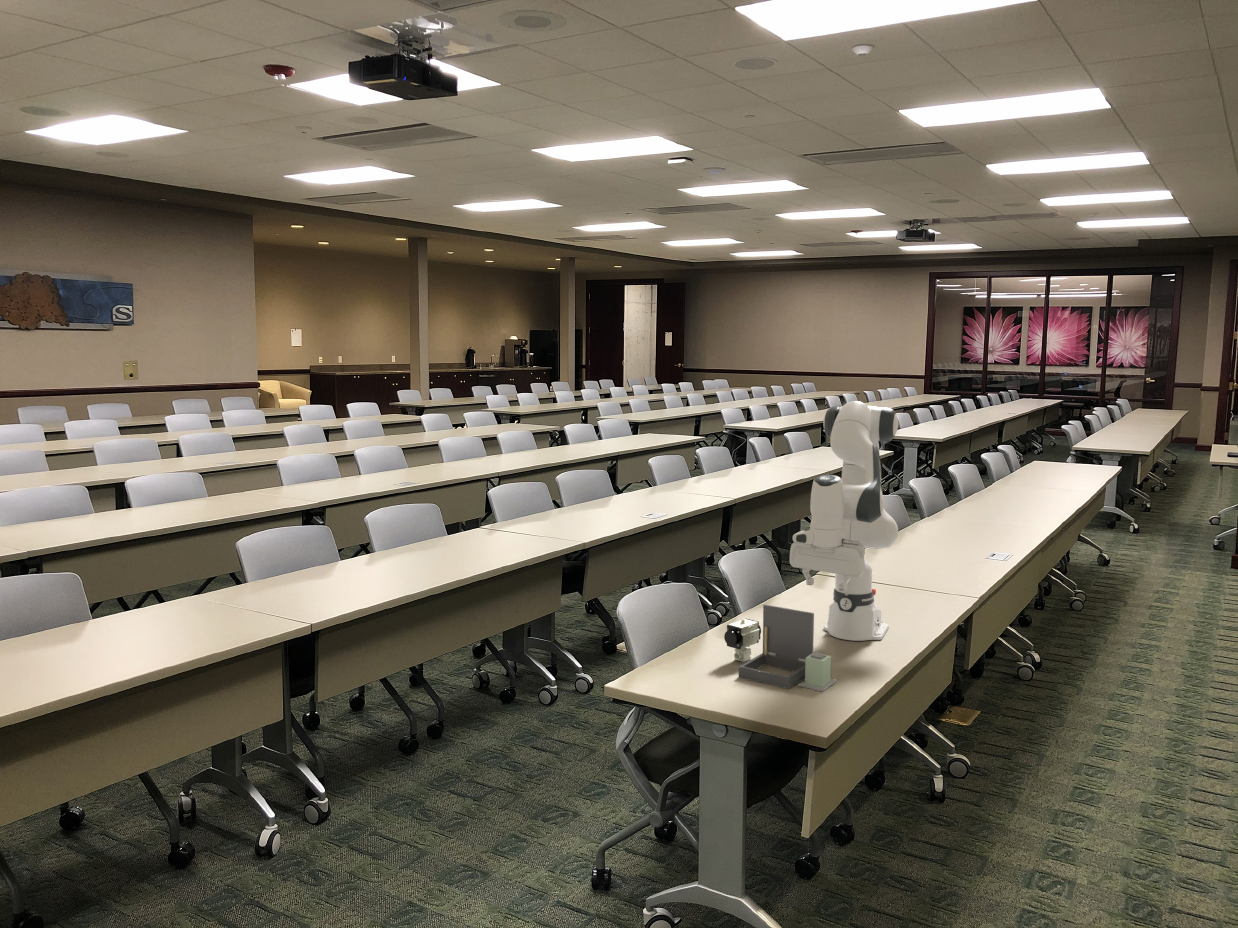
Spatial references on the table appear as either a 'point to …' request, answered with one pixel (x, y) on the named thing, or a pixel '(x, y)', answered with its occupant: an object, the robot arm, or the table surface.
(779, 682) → the case
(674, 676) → the table surface
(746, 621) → the pneumatic valve
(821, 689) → the pad
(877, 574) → the table surface
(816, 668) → the block
